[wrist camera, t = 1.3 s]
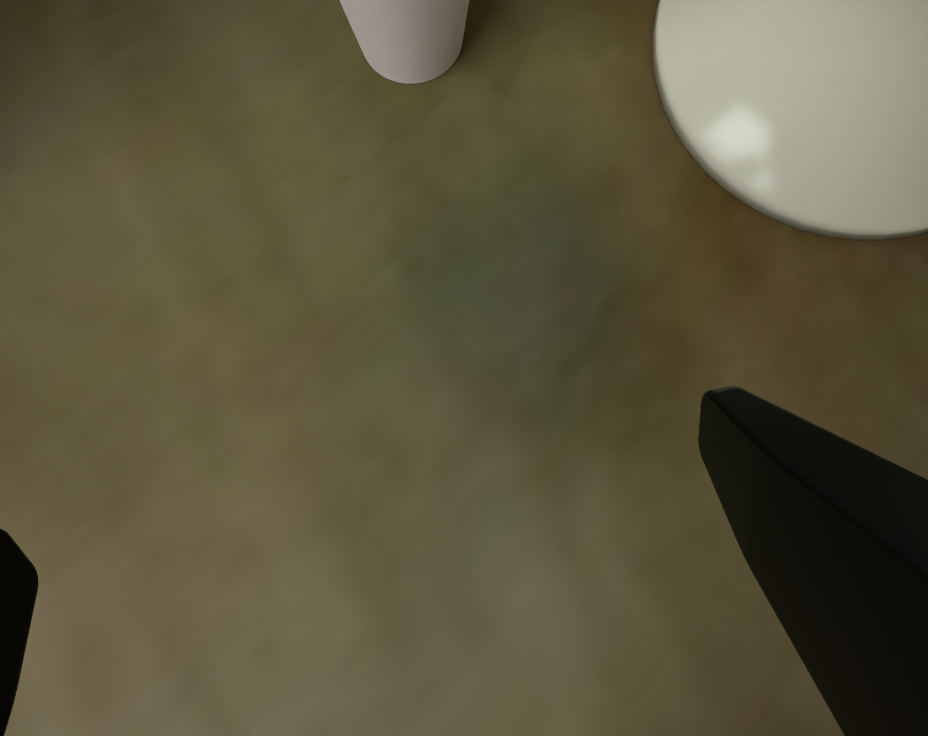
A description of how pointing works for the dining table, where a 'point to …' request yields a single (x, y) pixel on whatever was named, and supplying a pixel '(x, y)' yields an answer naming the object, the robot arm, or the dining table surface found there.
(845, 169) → the plate
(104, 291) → the dining table surface
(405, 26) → the smoothie
